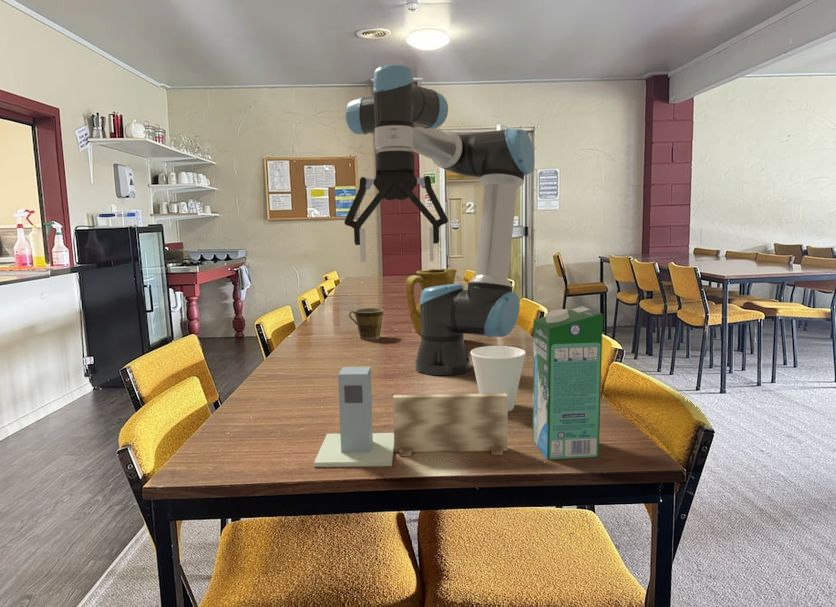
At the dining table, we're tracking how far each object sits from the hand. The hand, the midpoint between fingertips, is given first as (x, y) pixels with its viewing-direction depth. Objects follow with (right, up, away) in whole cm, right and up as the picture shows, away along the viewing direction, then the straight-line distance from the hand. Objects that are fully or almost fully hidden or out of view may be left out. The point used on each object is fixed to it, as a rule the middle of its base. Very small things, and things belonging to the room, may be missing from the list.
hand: (397, 261), depth 113 cm
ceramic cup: (-14, -21, +87) cm, 90 cm away
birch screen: (+10, -34, -12) cm, 38 cm away
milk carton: (+30, -34, -12) cm, 47 cm away
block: (-7, -34, -12) cm, 37 cm away
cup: (+22, -31, +11) cm, 39 cm away
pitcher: (+10, -22, +76) cm, 80 cm away
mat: (-7, -35, -12) cm, 37 cm away
